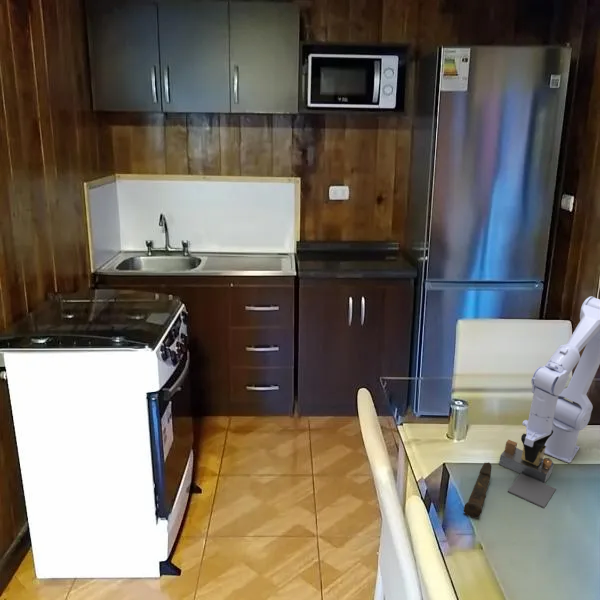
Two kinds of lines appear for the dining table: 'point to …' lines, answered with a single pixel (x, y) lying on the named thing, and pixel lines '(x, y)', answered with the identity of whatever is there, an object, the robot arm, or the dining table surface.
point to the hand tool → (478, 492)
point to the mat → (532, 490)
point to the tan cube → (539, 456)
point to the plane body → (525, 463)
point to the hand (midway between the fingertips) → (532, 456)
